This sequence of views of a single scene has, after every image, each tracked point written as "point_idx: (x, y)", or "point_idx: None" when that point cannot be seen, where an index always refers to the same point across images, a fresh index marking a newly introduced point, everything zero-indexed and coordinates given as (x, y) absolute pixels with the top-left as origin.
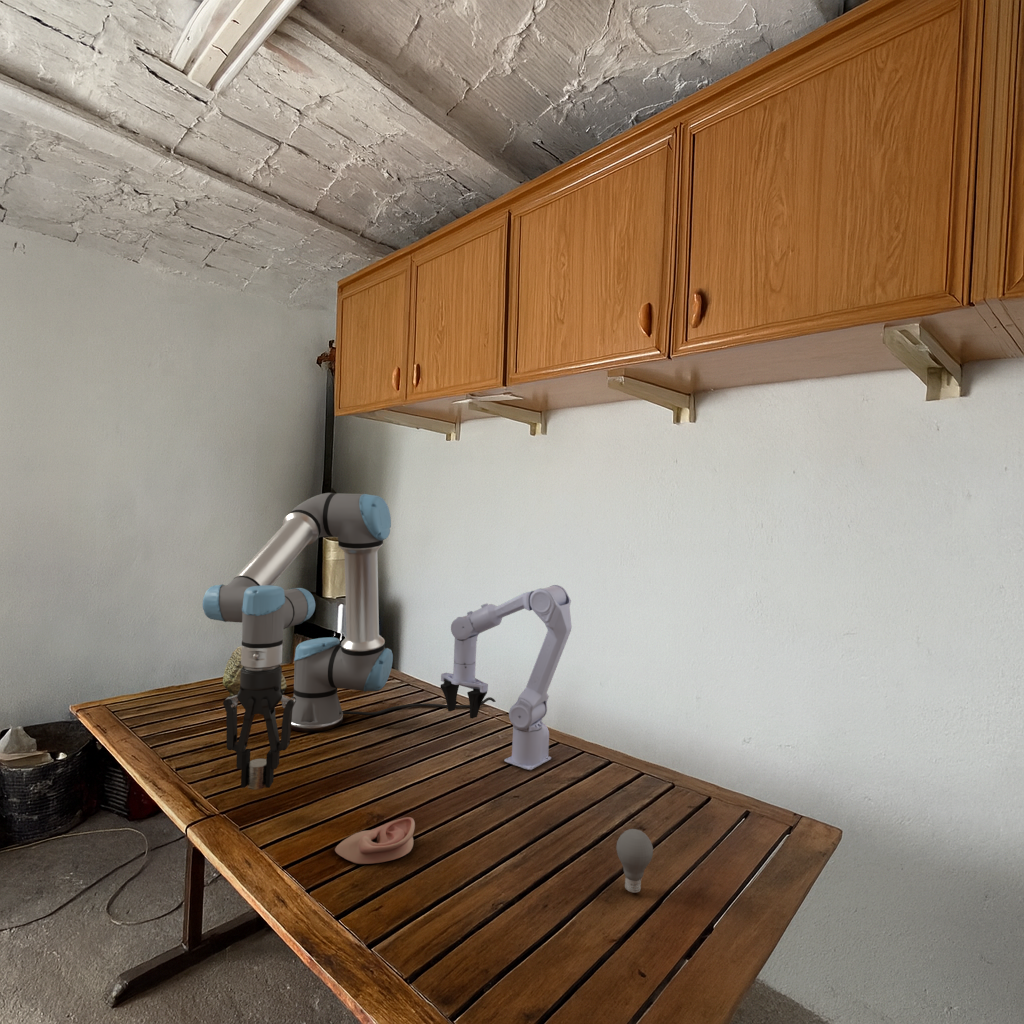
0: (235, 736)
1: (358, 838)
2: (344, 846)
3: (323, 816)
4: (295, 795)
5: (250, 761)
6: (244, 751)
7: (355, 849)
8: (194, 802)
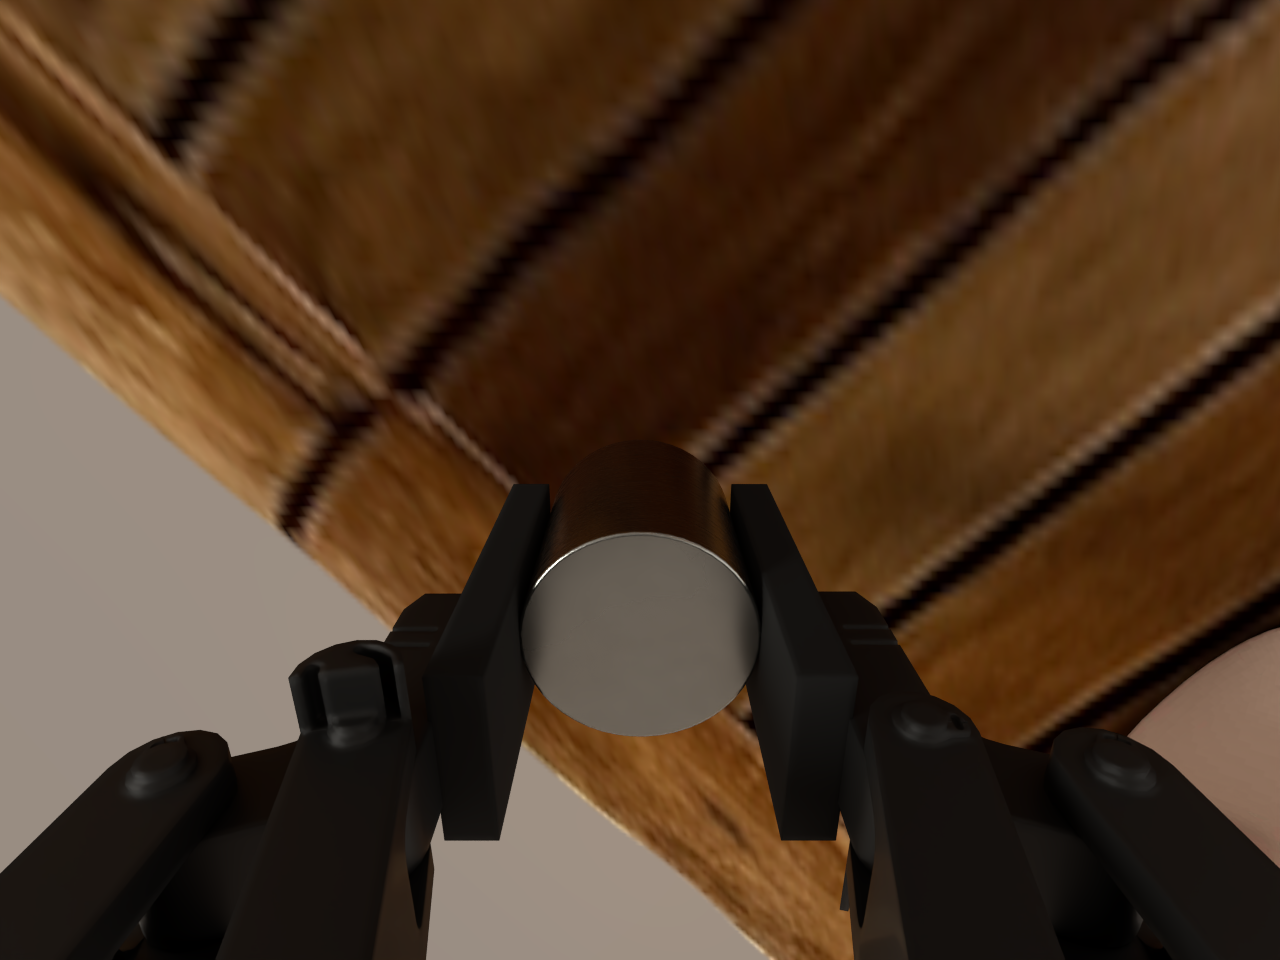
0: (115, 917)
1: (1269, 822)
2: None
3: (1057, 433)
4: (842, 106)
5: (533, 614)
6: (435, 761)
7: None
8: (132, 230)
